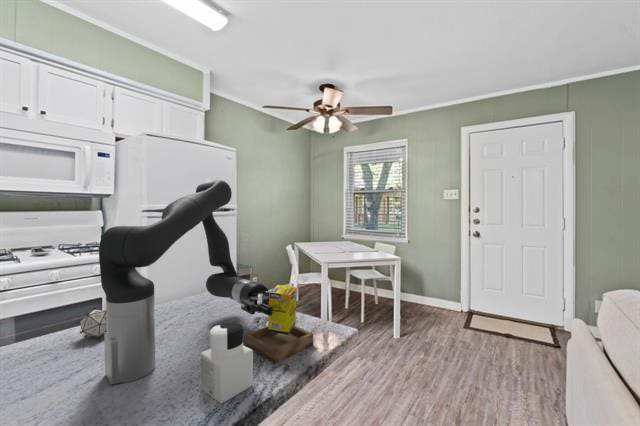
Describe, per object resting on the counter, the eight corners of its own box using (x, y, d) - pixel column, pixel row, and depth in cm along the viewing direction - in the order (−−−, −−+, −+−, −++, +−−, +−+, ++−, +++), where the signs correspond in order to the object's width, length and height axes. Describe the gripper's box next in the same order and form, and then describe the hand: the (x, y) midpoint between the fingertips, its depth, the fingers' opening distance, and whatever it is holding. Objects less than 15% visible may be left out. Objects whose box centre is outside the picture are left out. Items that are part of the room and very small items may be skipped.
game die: (92, 348, 86) (87, 315, 89) (123, 334, 88) (117, 303, 92) (71, 346, 78) (67, 310, 81) (106, 331, 80) (100, 297, 84)
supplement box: (289, 335, 76) (290, 295, 74) (267, 332, 77) (268, 292, 76) (295, 324, 82) (297, 286, 80) (275, 321, 83) (276, 284, 81)
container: (232, 372, 67) (232, 315, 66) (253, 385, 62) (253, 324, 61) (200, 388, 61) (199, 326, 60) (221, 405, 56) (220, 337, 55)
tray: (275, 363, 70) (275, 351, 70) (245, 345, 79) (245, 334, 79) (313, 344, 80) (313, 333, 80) (282, 330, 89) (282, 320, 89)
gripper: (228, 286, 84) (261, 300, 73) (268, 277, 94) (303, 287, 83) (228, 312, 84) (261, 329, 73) (268, 300, 95) (303, 313, 83)
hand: (283, 307), depth 78 cm, fingers closed on supplement box, 8 cm apart
